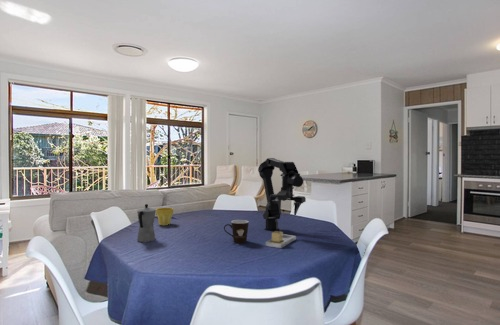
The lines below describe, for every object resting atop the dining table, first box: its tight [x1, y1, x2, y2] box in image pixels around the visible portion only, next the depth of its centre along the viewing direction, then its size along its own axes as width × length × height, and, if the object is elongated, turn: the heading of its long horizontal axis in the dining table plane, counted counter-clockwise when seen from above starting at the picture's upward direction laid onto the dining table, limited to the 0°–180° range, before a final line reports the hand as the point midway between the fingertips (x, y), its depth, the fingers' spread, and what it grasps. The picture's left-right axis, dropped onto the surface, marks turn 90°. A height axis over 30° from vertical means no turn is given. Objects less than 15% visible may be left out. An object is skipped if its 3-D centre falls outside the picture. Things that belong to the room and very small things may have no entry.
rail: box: [265, 233, 297, 249], centre depth 144 cm, size 8×18×2 cm, turn 149°
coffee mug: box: [223, 219, 249, 244], centre depth 146 cm, size 12×9×10 cm
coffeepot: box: [136, 203, 156, 243], centre depth 147 cm, size 15×9×18 cm, turn 0°
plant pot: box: [155, 207, 174, 226], centre depth 183 cm, size 10×10×10 cm
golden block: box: [271, 230, 284, 243], centre depth 140 cm, size 4×4×6 cm
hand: (287, 214), depth 156 cm, fingers open, 9 cm apart
